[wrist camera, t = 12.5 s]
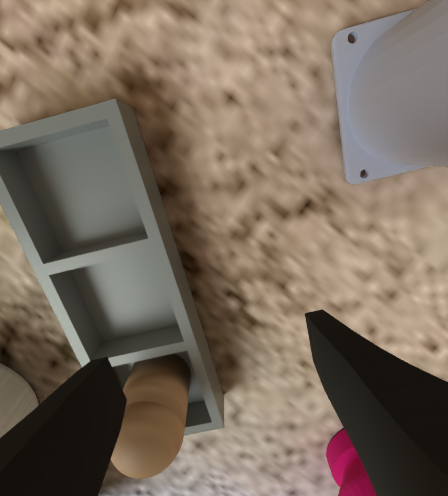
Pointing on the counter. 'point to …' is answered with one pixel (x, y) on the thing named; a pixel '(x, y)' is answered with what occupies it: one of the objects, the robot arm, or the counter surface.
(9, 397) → the ramekin
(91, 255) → the tray
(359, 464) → the pepper mill
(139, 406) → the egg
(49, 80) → the counter surface
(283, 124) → the counter surface
